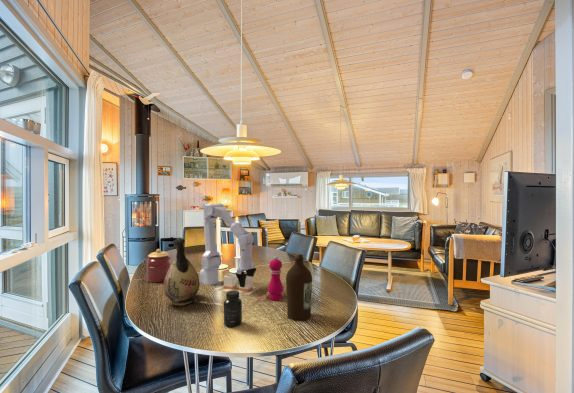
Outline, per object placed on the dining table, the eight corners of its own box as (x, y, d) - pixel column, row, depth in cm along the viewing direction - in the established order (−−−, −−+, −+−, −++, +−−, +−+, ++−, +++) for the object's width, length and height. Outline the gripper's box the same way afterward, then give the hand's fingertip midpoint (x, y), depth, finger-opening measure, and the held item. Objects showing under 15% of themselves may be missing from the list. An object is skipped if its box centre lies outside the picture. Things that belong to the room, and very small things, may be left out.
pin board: (213, 292, 147) (213, 280, 147) (227, 285, 159) (227, 274, 158) (249, 297, 140) (249, 285, 140) (260, 290, 151) (260, 278, 151)
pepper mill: (271, 302, 134) (271, 258, 134) (265, 297, 141) (265, 255, 141) (285, 299, 138) (286, 256, 138) (279, 294, 144) (279, 254, 144)
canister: (159, 283, 162) (159, 251, 161) (140, 281, 166) (140, 250, 166) (175, 277, 174) (175, 247, 174) (157, 275, 178) (157, 246, 178)
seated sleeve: (223, 288, 149) (223, 276, 149) (229, 285, 154) (229, 273, 154) (232, 289, 147) (232, 277, 147) (237, 286, 152) (237, 274, 152)
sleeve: (239, 290, 146) (239, 278, 146) (244, 287, 151) (244, 275, 151) (248, 291, 144) (248, 279, 144) (253, 288, 149) (253, 276, 149)
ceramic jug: (163, 299, 138) (163, 235, 138) (197, 294, 144) (197, 233, 144) (163, 312, 123) (163, 240, 122) (202, 306, 129) (202, 238, 128)
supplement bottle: (224, 320, 115) (224, 289, 115) (242, 319, 116) (242, 289, 116) (222, 328, 108) (222, 295, 108) (241, 327, 109) (241, 295, 109)
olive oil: (281, 318, 117) (281, 255, 117) (293, 309, 126) (293, 250, 126) (305, 324, 112) (305, 258, 112) (316, 314, 121) (316, 253, 121)
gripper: (246, 261, 139) (245, 290, 139) (260, 255, 153) (259, 281, 153) (233, 260, 142) (233, 288, 142) (248, 254, 155) (247, 280, 155)
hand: (246, 284), depth 147 cm, fingers open, 7 cm apart
